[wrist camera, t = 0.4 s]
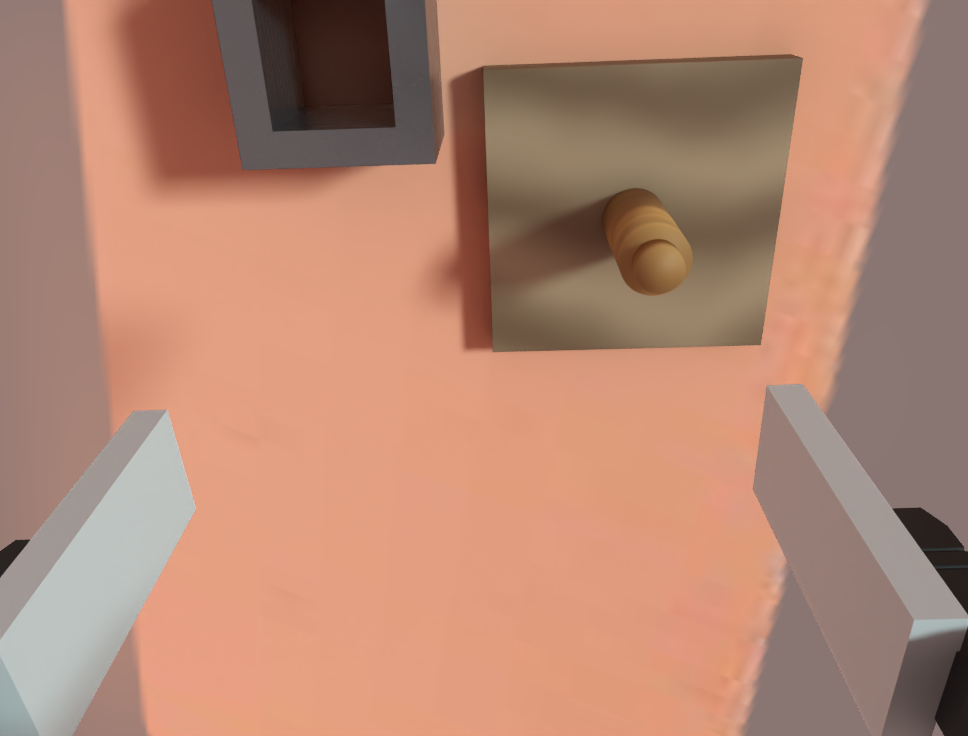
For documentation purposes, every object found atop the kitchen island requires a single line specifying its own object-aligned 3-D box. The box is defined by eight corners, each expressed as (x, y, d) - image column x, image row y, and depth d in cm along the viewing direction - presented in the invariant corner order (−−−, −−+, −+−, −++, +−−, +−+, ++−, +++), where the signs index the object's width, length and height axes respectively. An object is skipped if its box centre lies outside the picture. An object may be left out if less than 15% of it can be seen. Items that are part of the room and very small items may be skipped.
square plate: (483, 65, 35) (480, 94, 28) (791, 54, 35) (871, 80, 28) (493, 339, 42) (492, 422, 35) (752, 332, 42) (808, 415, 34)
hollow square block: (249, -49, 33) (202, -50, 28) (433, -57, 33) (420, -60, 28) (278, 139, 37) (242, 170, 32) (444, 134, 37) (435, 163, 32)
